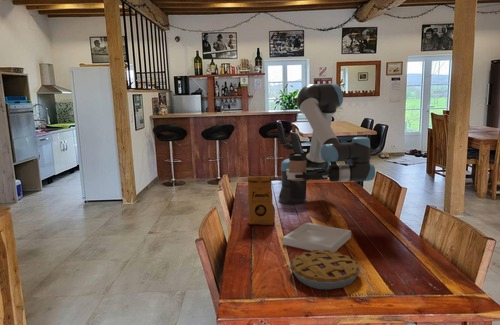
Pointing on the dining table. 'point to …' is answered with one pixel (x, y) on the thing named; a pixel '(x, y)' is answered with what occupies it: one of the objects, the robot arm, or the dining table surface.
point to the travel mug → (297, 185)
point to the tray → (317, 237)
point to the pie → (324, 269)
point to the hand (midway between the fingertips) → (286, 174)
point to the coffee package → (260, 201)
